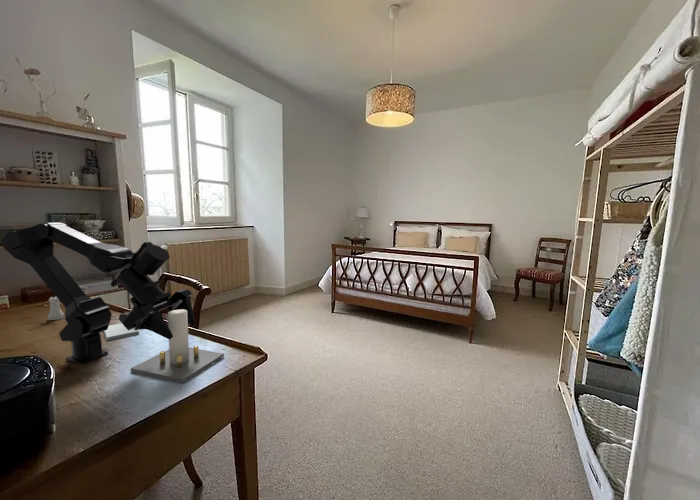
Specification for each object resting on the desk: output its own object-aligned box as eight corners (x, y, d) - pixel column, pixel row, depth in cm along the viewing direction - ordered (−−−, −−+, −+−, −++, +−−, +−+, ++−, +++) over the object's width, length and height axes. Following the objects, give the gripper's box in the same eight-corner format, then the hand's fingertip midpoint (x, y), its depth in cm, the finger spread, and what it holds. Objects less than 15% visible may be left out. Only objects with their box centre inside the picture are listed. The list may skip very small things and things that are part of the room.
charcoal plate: (130, 371, 75) (129, 356, 74) (177, 348, 88) (177, 335, 88) (183, 383, 70) (182, 367, 70) (224, 356, 84) (223, 343, 83)
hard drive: (139, 331, 98) (132, 320, 107) (106, 337, 92) (102, 326, 101) (139, 335, 98) (132, 325, 107) (107, 342, 92) (103, 330, 101)
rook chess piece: (52, 317, 111) (50, 295, 110) (67, 316, 113) (65, 295, 112) (44, 321, 107) (42, 299, 106) (60, 320, 108) (58, 298, 107)
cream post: (167, 365, 77) (164, 315, 75) (173, 357, 81) (170, 309, 79) (186, 363, 78) (184, 314, 76) (191, 355, 82) (189, 309, 80)
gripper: (149, 297, 88) (186, 336, 89) (88, 319, 70) (135, 368, 70) (173, 272, 87) (211, 311, 87) (117, 287, 68) (166, 337, 68)
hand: (183, 331), depth 78 cm, fingers open, 9 cm apart
